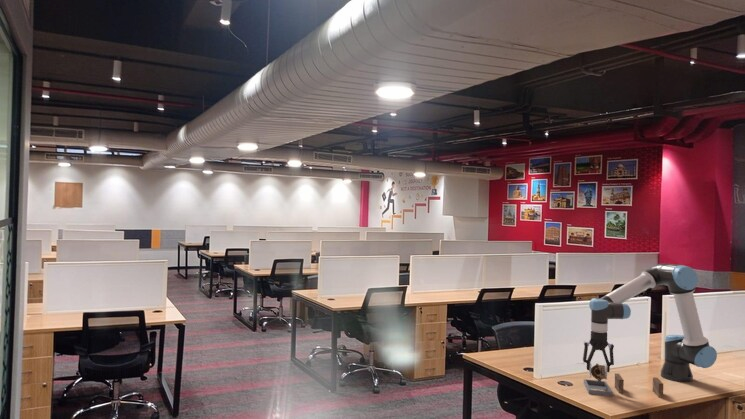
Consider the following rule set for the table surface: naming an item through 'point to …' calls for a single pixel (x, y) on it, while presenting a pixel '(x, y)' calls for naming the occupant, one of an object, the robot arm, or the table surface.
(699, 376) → the table surface
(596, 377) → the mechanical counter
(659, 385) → the cradle
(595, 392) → the tray
